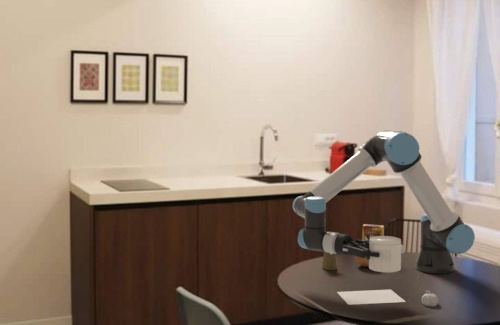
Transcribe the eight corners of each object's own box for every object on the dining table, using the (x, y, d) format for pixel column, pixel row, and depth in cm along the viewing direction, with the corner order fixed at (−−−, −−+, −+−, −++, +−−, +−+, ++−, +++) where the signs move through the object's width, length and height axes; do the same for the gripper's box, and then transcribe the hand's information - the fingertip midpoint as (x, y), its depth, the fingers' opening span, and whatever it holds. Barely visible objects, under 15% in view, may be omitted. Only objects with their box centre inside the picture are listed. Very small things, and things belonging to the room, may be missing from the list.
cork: (336, 270, 252) (336, 243, 250) (321, 269, 253) (321, 243, 252) (337, 266, 257) (337, 240, 256) (322, 265, 259) (322, 239, 258)
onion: (365, 270, 251) (365, 246, 250) (350, 265, 259) (350, 241, 258) (383, 267, 255) (384, 243, 254) (368, 262, 264) (368, 239, 263)
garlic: (418, 304, 209) (418, 289, 209) (434, 303, 210) (434, 288, 209) (424, 310, 204) (425, 294, 203) (440, 309, 204) (441, 294, 203)
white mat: (390, 292, 222) (390, 289, 222) (405, 304, 209) (405, 301, 209) (336, 294, 220) (336, 291, 220) (348, 307, 206) (348, 304, 206)
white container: (388, 262, 217) (389, 234, 216) (406, 270, 208) (407, 241, 207) (363, 266, 213) (363, 237, 212) (380, 273, 204) (381, 243, 203)
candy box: (361, 260, 267) (362, 225, 266) (362, 257, 271) (363, 223, 270) (382, 261, 265) (383, 226, 263) (383, 259, 269) (384, 224, 267)
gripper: (353, 247, 230) (410, 256, 217) (321, 260, 212) (381, 271, 199) (353, 228, 229) (410, 235, 216) (321, 239, 211) (381, 248, 198)
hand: (396, 252), depth 207 cm, fingers closed on white container, 10 cm apart
